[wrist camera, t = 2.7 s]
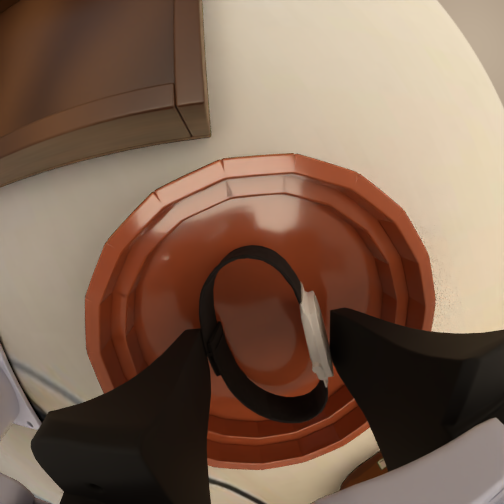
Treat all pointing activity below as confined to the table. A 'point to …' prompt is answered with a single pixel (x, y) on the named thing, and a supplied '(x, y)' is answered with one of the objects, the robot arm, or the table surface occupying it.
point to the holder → (97, 80)
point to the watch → (231, 373)
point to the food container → (366, 471)
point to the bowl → (257, 290)
